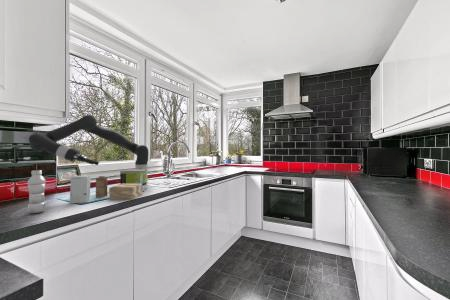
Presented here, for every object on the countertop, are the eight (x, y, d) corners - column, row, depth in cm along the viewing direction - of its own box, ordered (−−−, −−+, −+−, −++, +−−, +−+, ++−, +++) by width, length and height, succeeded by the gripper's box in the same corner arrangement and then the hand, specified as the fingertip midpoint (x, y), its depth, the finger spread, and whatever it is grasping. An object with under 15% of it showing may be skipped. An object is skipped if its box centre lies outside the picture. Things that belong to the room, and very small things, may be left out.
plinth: (121, 194, 135) (121, 183, 135) (142, 194, 135) (142, 183, 135) (109, 199, 121) (109, 187, 121) (132, 199, 121) (132, 187, 121)
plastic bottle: (44, 209, 100) (44, 169, 100) (47, 212, 96) (47, 170, 96) (26, 213, 95) (26, 170, 95) (28, 216, 91) (28, 171, 91)
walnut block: (100, 195, 131) (100, 175, 131) (107, 195, 131) (107, 175, 131) (95, 197, 126) (95, 176, 126) (103, 197, 126) (102, 176, 126)
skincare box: (69, 203, 112) (69, 176, 112) (74, 201, 117) (73, 175, 117) (87, 202, 114) (87, 176, 114) (90, 200, 120) (90, 174, 120)
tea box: (146, 189, 153) (146, 169, 153) (140, 191, 143) (139, 170, 143) (127, 188, 154) (127, 169, 154) (119, 191, 144) (119, 170, 144)
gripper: (65, 146, 116) (95, 156, 119) (76, 148, 129) (102, 158, 133) (59, 158, 114) (89, 168, 118) (70, 159, 128) (96, 169, 131)
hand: (96, 163), depth 125 cm, fingers open, 8 cm apart
